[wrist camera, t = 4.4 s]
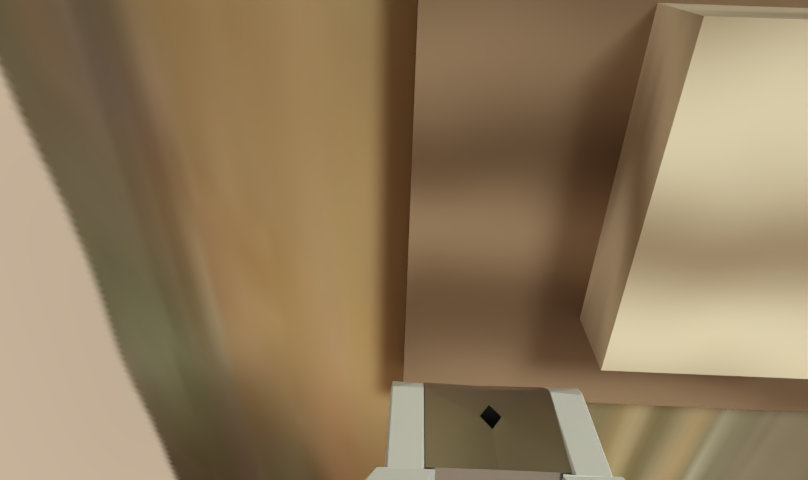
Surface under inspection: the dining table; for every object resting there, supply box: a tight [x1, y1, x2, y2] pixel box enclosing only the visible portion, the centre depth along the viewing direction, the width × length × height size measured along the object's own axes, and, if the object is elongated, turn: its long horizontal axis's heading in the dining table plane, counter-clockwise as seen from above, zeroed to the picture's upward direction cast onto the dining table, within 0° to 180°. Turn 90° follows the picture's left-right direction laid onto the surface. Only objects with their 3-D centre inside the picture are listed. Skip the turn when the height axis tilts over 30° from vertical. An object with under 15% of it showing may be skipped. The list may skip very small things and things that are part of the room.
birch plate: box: [580, 3, 808, 379], centre depth 15 cm, size 10×8×2 cm
